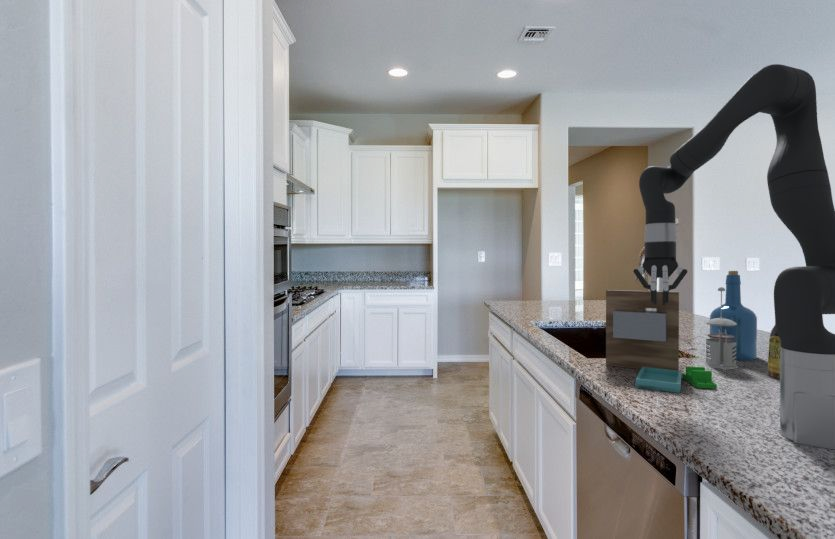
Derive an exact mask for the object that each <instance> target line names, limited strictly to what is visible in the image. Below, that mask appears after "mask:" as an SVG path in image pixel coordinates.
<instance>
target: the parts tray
mask: <svg viewBox="0 0 835 539" xmlns="http://www.w3.org/2000/svg"><path fill="white" fill-rule="evenodd" d="M682 373H683V371H682V370H679V371H676V370H667V369H658V368H649V367H642V368H641V369H640V370H639V371H638V373H637V376H636V378H635V388H640V389H648V390H654V391H661V392H670V393H676V394H677V393H678V394H681V389H682V380H683V377H682Z"/></svg>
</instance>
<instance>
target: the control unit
mask: <svg viewBox="0 0 835 539" xmlns="http://www.w3.org/2000/svg"><path fill="white" fill-rule="evenodd" d="M613 337H614V338H627V339H639V340H652V341H664V342H666V340H667V312H658V311H657V308H645V311H637V310H614V311H613Z"/></svg>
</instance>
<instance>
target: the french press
mask: <svg viewBox="0 0 835 539" xmlns="http://www.w3.org/2000/svg"><path fill="white" fill-rule="evenodd" d="M717 291H718V292H720V306H721V317H720V318H714V319H711V320H710V319H709V320H707V321H705V325H709V326H710V325H716V326H721V333H720V329H718V332H719V334H710V333H708V334H707V337H709V338H706V339H705V348H706V349H705V352H706V353H705V362H703V365H704V366H706V367H710V368H714V369H721V370H735V368H736V369H738V368H739V366H738V365H737V360H734V359H736V356H735V357H732V356H734V355H736V352H735V353H732V352H733V351H736V348H735V349H732V348H733V347H735V346H736V341H732V340H727V339H734V338H735V337H734V336H732V335H727V334H725V333H726V329H725V333H722V326H735V325H737V324H736V323H735V322H733V321H731V320H729V319H725V318H722V305H723V293H722V292H726V287H718V288H717ZM722 334H724V335H722ZM710 337H711V338H718V339H710ZM710 346H711V347H710ZM710 350H711V351H710ZM710 354H711V355H710Z"/></svg>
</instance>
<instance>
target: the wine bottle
mask: <svg viewBox="0 0 835 539" xmlns="http://www.w3.org/2000/svg"><path fill="white" fill-rule="evenodd" d="M727 273H728V274H727V275H726V277H725V283H724V284H725V300H724V301H725V303H722V318H725V319H729V320H731V321H733V322H735V323H736V324H737V325H735V326H722V333H725V329H726V333H725V334H727V335H732V336H734V337H735V338H734V339H727V340H732V341H736V346H735V347H733V348H732V349H735V348H736V351H733V352H732V353H735V352H736V355H734V356H732V357H735V356H736V359H734V360H733V361H735V360H736V361H752V360H751V359H754V360H757V357H758V317H757V315H756V313H755V312H754V311H753V310H752V309H750V308H748V307H746V306H744V305H743V304H742V295H741V294H742V293H741V285H742V282H741V274H739V272H738V270H729V271H728V272H727ZM720 317H721V305H720V306H718V307H716V308H714V309H713V310H712V312H710V315H709V320H711V319H714V318H720ZM718 329H720V333H721V326H716V325H709V334H719V332H718ZM722 335H724V334H722ZM709 339H718V338H711V337H709ZM709 347H711V346H709ZM709 351H711V350H709Z"/></svg>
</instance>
